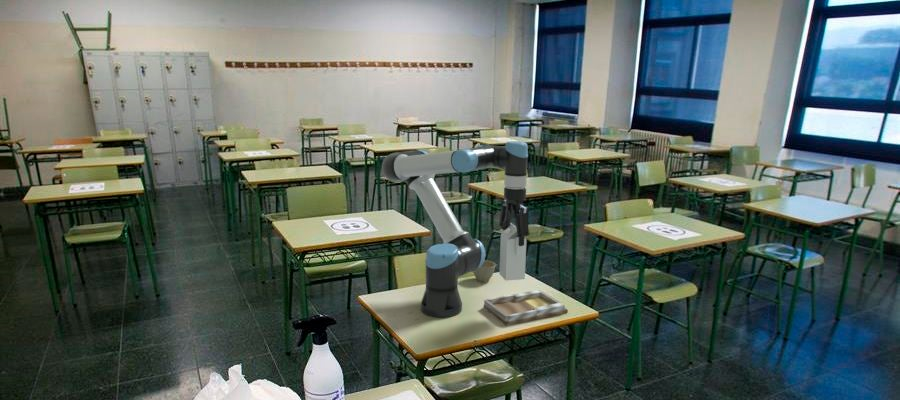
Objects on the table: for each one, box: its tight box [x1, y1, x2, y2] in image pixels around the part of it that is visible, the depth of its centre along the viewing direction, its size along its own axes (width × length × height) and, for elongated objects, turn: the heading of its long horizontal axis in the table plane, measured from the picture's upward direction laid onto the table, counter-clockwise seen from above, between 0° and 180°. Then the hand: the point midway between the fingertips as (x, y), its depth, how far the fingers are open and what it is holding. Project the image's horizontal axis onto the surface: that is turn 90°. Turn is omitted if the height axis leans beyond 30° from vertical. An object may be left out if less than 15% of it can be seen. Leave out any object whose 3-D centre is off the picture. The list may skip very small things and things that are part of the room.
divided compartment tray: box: [483, 289, 569, 326], centre depth 189 cm, size 26×16×3 cm, turn 115°
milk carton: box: [499, 222, 527, 281], centre depth 182 cm, size 7×7×19 cm
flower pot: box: [472, 260, 496, 283], centre depth 219 cm, size 10×10×7 cm
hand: (512, 250), depth 182 cm, fingers closed on milk carton, 8 cm apart
